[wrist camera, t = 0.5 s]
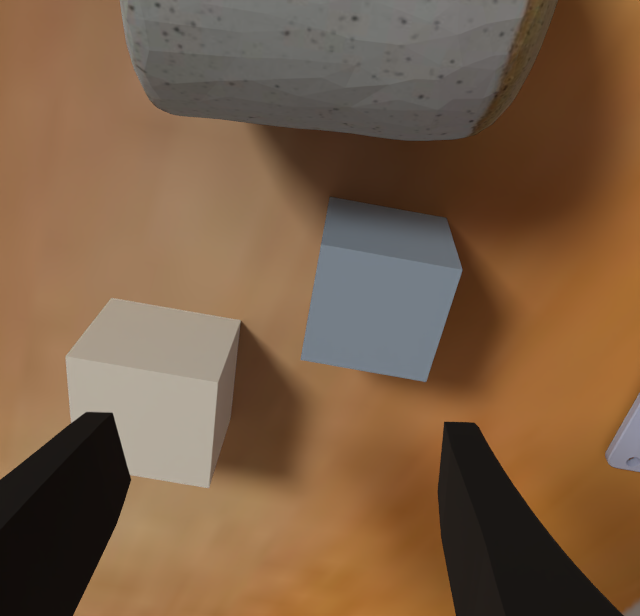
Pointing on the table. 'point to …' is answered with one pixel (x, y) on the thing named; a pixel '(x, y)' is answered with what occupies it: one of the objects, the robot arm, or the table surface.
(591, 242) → the table surface
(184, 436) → the cream block
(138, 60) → the ceramic mug
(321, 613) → the table surface
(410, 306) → the blue cube
